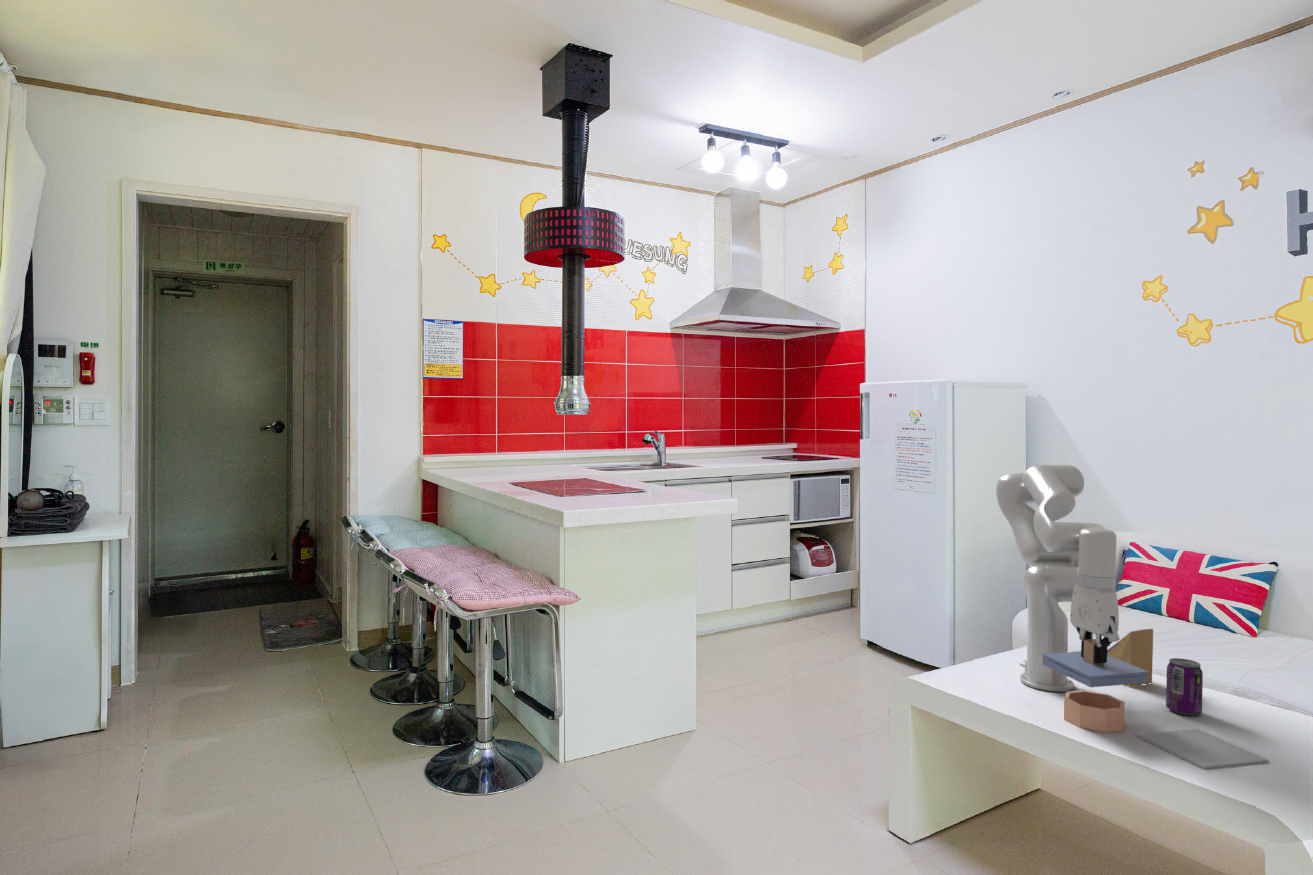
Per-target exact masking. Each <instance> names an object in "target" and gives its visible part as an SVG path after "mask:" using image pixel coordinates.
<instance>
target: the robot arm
mask: <svg viewBox="0 0 1313 875" xmlns="http://www.w3.org/2000/svg"><path fill="white" fill-rule="evenodd" d="M995 487H996V488H995V494H996V499H997V504H998V506H999V509H1000V511H1001V512H1002V514H1003V516H1004V517H1005V519H1006V521H1008V524H1009V525H1010V528H1011V530H1012V533H1013V536H1014V539H1015V542H1016V546H1017V548H1018V552H1019V553H1020V556H1021V558H1022V560H1023V562H1024V563H1025V564H1026V565H1028V566H1031V567H1029V568H1028V569H1026V571H1025V572H1024V577H1023V583H1024V589H1025V595H1026V596H1025V597H1026V601H1027V602H1026V604H1027V606H1026V607H1027V608H1026V609H1027V630H1026V631H1027V633H1026V634H1027V635H1026V636H1027V637H1026V640H1027V642H1026V647H1027V648H1026V649H1027V650H1026V655H1027V656H1026V658H1025V659H1024V661H1022V660H1021V661H1020V662H1019V666H1021V667H1022V668H1024V672H1022V674H1020V676H1019V679H1020V681H1021V683H1023V684H1024V685H1026V686H1028V687H1031V688H1034V689H1038V690H1041V691H1048V692H1070V691H1073V689H1074V687H1075V683H1074V682H1073V681H1072V679H1071V678H1069V677H1068V676H1066V675H1064V674H1062V673H1059V672H1057V671H1055V670H1053V669H1051V668H1049V667H1047V666H1045V665H1043V664H1042V663H1043V654H1050V653H1064V652H1069V650H1068V647H1069V646H1068V645H1069V644H1068V643H1069V622H1070V624H1071V625H1072V626H1073V627H1074V628H1075V629H1076V631H1077V633H1078V638H1079V640H1080V642H1081V646H1080V651H1081V657H1082V658H1083V652H1084V640H1088V639H1094V635H1095V639H1096V646H1094V657H1093V662H1094V663H1096V664H1099V663H1106V662H1107V650H1108V647H1110V646H1111V644H1112V643H1115V642H1118V641H1120V640H1121V639H1120V634H1119V633H1118V632H1119V624H1120V622H1119V620H1120V613H1119V601H1118V594H1117V591H1116V573H1117V572H1116V571H1117V570H1116V569H1117V568H1116V566H1117V534H1116V533H1115V532H1114V531H1113V530H1111V529H1107V528H1105V527H1104V526H1102V525H1101V524H1099V523H1094V522H1074V521H1073V522H1067V521H1066V522H1064V521H1063V522H1060V521H1058V520H1061V519H1063V518H1065V517H1067V516H1068V515H1070V514H1071V513H1072V512H1073V511H1074V509H1075V507H1076V497H1078V496H1080V495H1081V494H1082V492H1083V491H1084V489H1085V479H1084V475H1083V473H1082V472H1081V471H1080V469H1079V468H1077V467H1076V466H1073V465H1072V464H1071V465H1070V464H1039V465H1038V464H1037V465H1034V466H1031V467H1028V468H1027V469H1026V471H1025V472H1016V473H1015V472H1013V473H1008V474H1005V475H1003V476H1001V477H1000V478H999V479H998V480H997V483H996V486H995ZM1027 503H1029V504H1032V503H1033V504H1036V506H1037V508H1036V509H1034V508H1032V506H1029V505H1028V504H1027ZM1064 602H1065V603H1070V604H1071V605H1070V612H1069V613H1070V615H1069V618H1070V619H1069V620H1070V621H1068V617H1067V615H1066V613H1065V611H1063V610H1062V608H1061V607H1060V605H1059V603H1064Z"/></svg>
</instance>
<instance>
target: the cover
mask: <svg viewBox="0 0 1313 875" xmlns="http://www.w3.org/2000/svg"><path fill="white" fill-rule="evenodd" d="M1094 646H1096V638H1093V639H1088V640H1084V652H1083V658H1082V657H1081V650H1080V651H1079V650H1078V651H1068V652H1064V653H1050V654H1043V663H1042V664H1043V665H1045V666H1047V667H1049V668H1051V669H1053V670H1055V671H1057V672H1059V673H1062V674H1064V675H1066V676H1067V678H1069V679H1071V680H1074V681H1076V682H1078V683H1080V684H1082V685H1085V686H1086V687H1089V688H1099V687H1111V686H1121V685H1122V686H1124V685H1125V684H1137V683H1148V671H1146V670H1143V669H1141V668H1138V667H1136V666H1133V665H1131V664H1129V663H1126V662H1124V661H1121V660H1119V659H1117V658H1114V657H1112V656H1109V655H1107V662H1106V663H1099V664H1096V663H1094V662H1093V657H1094Z"/></svg>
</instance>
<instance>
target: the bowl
mask: <svg viewBox="0 0 1313 875" xmlns="http://www.w3.org/2000/svg"><path fill="white" fill-rule="evenodd" d="M1063 704H1064V706H1063V708H1064V709H1063V710H1064V711H1063V720H1064V721H1067V722H1069V723H1071V724H1072V723H1073V725H1075V726H1076V727H1078V728H1080V727H1082V729H1085V728H1086V730H1090V729H1092V730H1091V731H1096V732H1101V733H1105V732H1106V733H1115V732H1125V719H1126V718H1125V714H1126V709H1125V708H1126V705H1125V704H1126V702H1125V701H1123V700H1121V699H1118V698H1116V697H1114V696H1113V695H1110V694H1108V693H1107V694H1106V693H1100V692H1095V691H1090V690H1085V689H1084V690H1083V689H1082V690H1074V691H1073V690H1069V691H1065V696H1064V700H1063Z"/></svg>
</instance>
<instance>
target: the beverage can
mask: <svg viewBox="0 0 1313 875" xmlns="http://www.w3.org/2000/svg"><path fill="white" fill-rule="evenodd" d="M1203 676H1204V674H1203V669H1202V668H1201V664H1200V662H1197V661H1195V660H1192V659H1187V658H1177V657H1174V658H1169V663H1168V664H1167V666H1166V681H1165V682H1166V688H1165V690H1166V691H1165V692H1166V694H1165V696H1166V697H1165V706H1166V708H1168V709H1169V710H1171V711H1172V712H1174V713H1175V714H1178V713H1179V714H1180V715H1182V714H1184V715H1183V716H1188V715H1190V716H1191V715H1192V717H1193V715H1194V716H1197V715H1200V714H1202V713H1203V688H1204V686H1203V684H1204V682H1203V681H1204V678H1203ZM1179 714H1178V715H1179Z"/></svg>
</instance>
